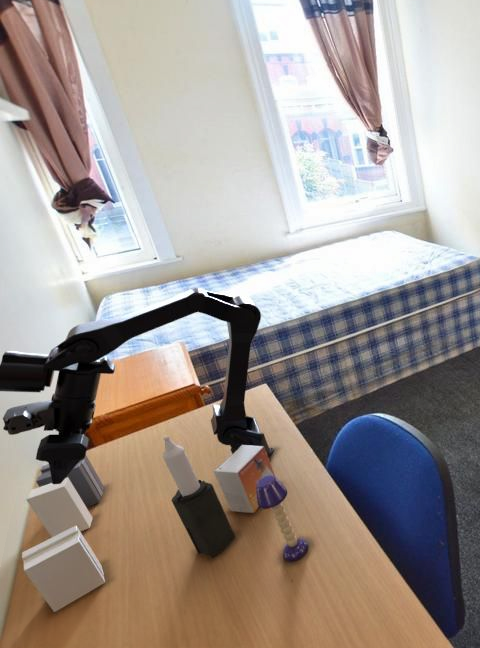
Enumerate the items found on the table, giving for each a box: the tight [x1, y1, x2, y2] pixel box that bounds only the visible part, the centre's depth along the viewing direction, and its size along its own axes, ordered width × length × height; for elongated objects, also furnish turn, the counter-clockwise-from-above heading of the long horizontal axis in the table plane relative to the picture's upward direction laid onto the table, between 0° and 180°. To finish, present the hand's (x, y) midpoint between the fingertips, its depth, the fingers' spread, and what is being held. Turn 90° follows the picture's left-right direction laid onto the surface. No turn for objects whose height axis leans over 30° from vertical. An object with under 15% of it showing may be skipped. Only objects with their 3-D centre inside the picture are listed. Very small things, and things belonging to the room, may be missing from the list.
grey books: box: [35, 454, 105, 508], centre depth 99 cm, size 7×5×10 cm
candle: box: [162, 435, 236, 558], centre depth 82 cm, size 5×5×25 cm
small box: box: [213, 445, 276, 514], centre depth 95 cm, size 8×6×10 cm
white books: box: [21, 526, 106, 613], centre depth 79 cm, size 7×5×10 cm
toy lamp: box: [256, 475, 309, 562], centre depth 81 cm, size 5×5×17 cm
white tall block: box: [26, 478, 94, 538], centre depth 91 cm, size 6×3×11 cm, turn 121°
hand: (60, 470), depth 87 cm, fingers open, 9 cm apart
